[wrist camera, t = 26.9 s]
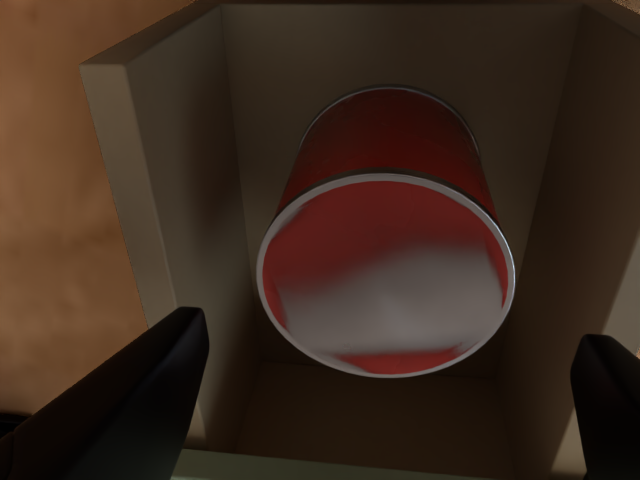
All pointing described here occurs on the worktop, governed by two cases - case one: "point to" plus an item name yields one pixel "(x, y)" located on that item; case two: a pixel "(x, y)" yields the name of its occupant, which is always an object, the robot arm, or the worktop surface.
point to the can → (386, 239)
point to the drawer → (274, 170)
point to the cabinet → (287, 469)
